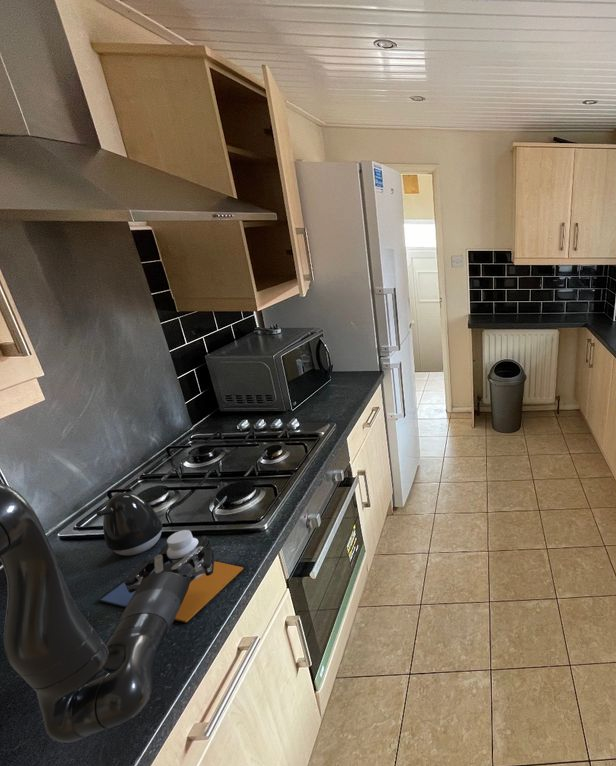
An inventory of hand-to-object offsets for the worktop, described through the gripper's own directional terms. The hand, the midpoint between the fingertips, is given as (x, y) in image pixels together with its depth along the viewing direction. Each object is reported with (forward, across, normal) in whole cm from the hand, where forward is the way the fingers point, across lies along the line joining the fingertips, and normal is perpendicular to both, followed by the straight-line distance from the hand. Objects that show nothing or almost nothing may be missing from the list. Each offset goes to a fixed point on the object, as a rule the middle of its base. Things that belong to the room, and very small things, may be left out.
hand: (188, 542), depth 88 cm
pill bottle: (-3, 0, +6) cm, 7 cm away
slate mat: (+4, +10, +11) cm, 15 cm away
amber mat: (-2, 0, +11) cm, 11 cm away
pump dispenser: (+17, +18, +11) cm, 27 cm away
